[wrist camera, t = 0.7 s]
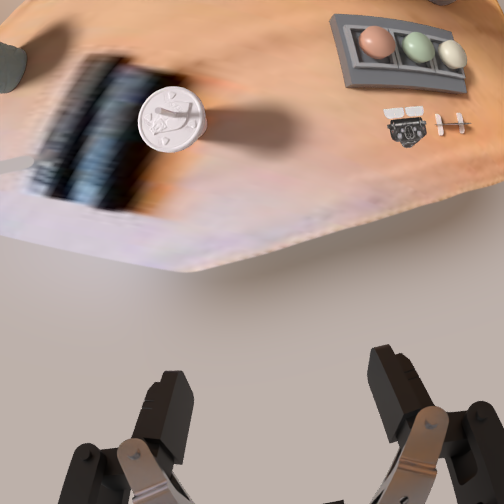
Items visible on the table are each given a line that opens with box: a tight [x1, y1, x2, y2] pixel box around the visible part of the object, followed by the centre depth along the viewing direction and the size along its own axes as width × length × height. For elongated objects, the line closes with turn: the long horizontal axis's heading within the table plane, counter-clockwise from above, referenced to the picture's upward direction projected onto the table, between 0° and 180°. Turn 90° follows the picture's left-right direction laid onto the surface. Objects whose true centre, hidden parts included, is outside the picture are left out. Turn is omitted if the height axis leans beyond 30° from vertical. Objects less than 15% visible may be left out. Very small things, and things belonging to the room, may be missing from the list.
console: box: [329, 14, 467, 94], centre depth 25 cm, size 10×19×4 cm, turn 100°
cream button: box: [438, 40, 467, 69], centre depth 21 cm, size 4×4×2 cm
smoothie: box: [138, 87, 207, 152], centre depth 25 cm, size 6×6×14 cm
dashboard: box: [383, 106, 471, 148], centre depth 28 cm, size 15×7×4 cm, turn 106°
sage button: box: [402, 32, 435, 63], centre depth 22 cm, size 4×4×2 cm
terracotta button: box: [359, 26, 396, 59], centre depth 22 cm, size 4×4×2 cm
